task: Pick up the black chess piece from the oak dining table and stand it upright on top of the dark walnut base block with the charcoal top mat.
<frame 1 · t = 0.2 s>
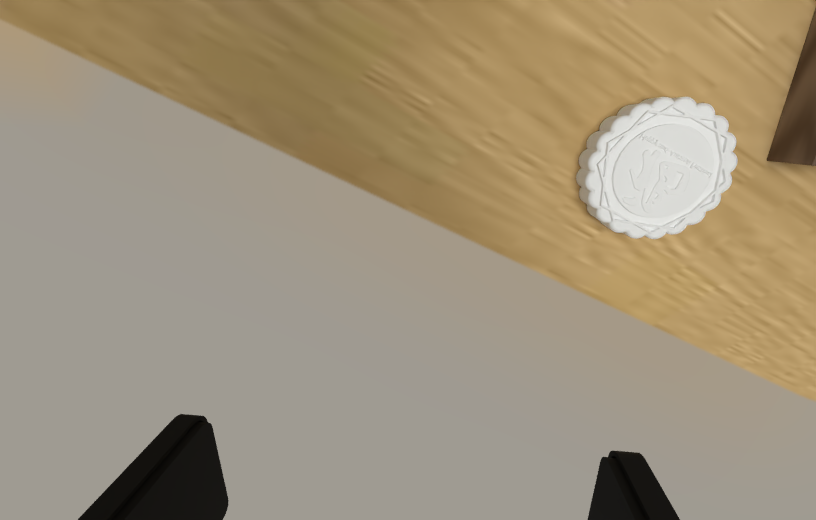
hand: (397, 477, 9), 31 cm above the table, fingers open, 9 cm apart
mooncake: (642, 168, 35), on the table
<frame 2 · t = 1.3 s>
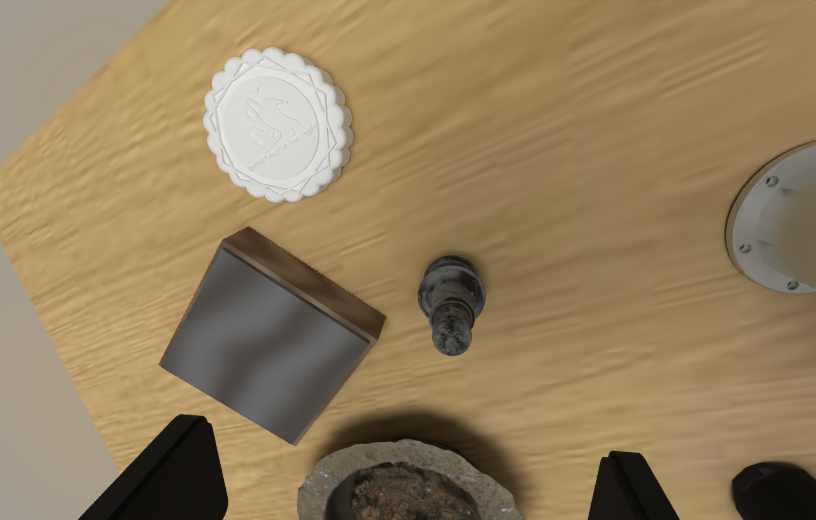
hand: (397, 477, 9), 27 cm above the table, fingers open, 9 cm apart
walnut base: (282, 329, 40), on the table
portable speaker: (767, 486, 41), on the table
mooncake: (289, 129, 34), on the table
stone bowl: (413, 482, 46), on the table
black chess piece: (451, 280, 37), on the table
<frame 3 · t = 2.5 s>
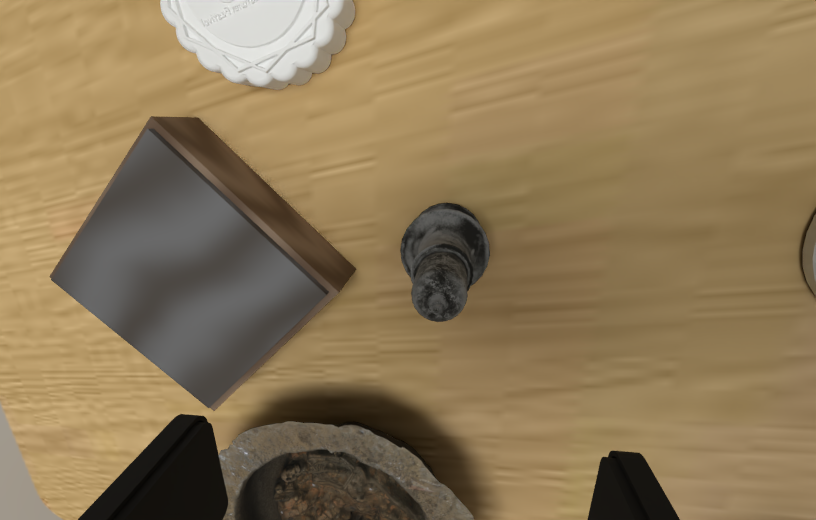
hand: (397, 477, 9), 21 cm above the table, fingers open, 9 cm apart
walnut base: (223, 262, 32), on the table
stone bowl: (353, 476, 38), on the table
black chess piece: (446, 237, 29), on the table
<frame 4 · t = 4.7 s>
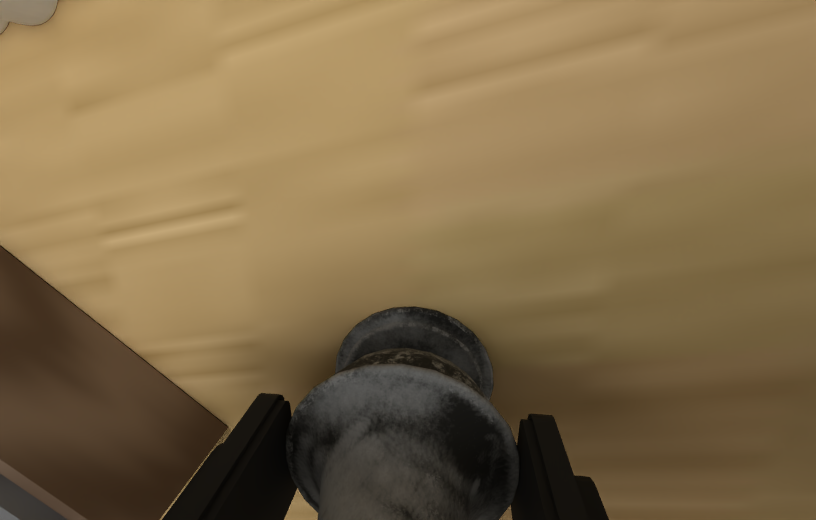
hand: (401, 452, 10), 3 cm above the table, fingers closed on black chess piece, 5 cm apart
black chess piece: (413, 373, 13), on the table, touching gripper
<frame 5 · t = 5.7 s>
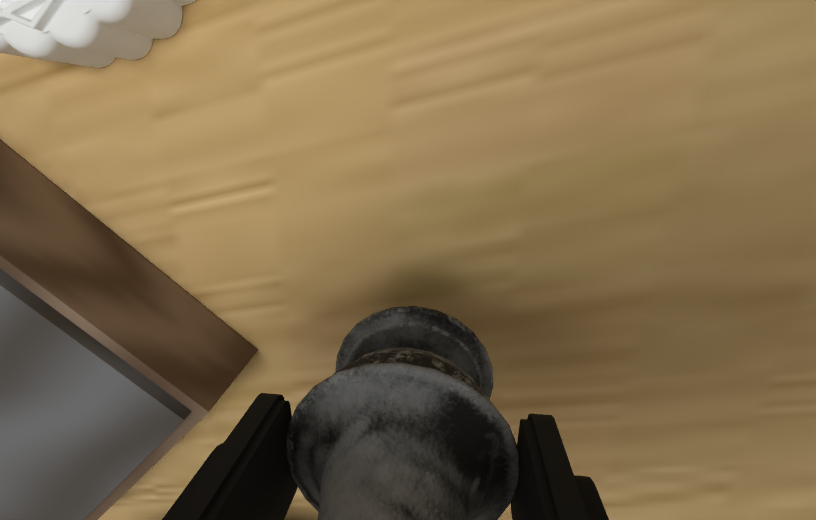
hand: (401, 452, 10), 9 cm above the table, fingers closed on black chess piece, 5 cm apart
walnut base: (51, 342, 20), on the table
black chess piece: (413, 373, 13), point 5 cm above the table, touching gripper
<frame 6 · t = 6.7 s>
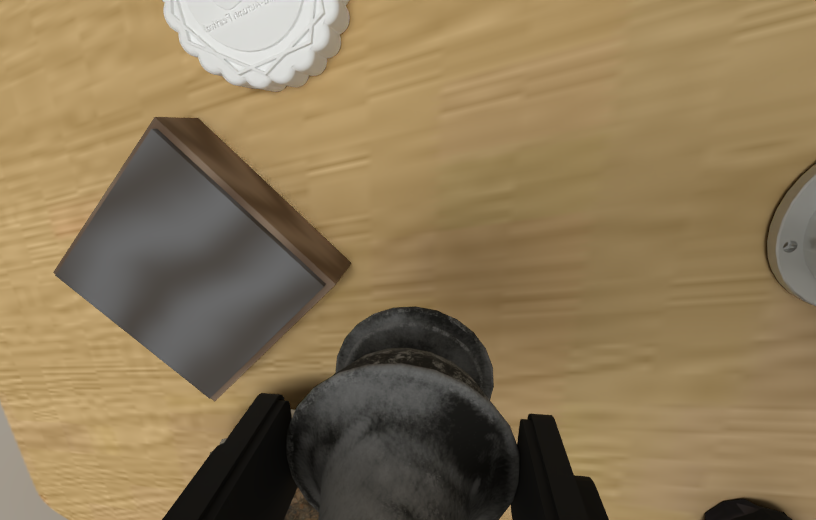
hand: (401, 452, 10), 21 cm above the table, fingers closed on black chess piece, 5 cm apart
walnut base: (222, 258, 33), on the table
stone bowl: (350, 465, 40), on the table
black chess piece: (413, 373, 13), point 18 cm above the table, touching gripper
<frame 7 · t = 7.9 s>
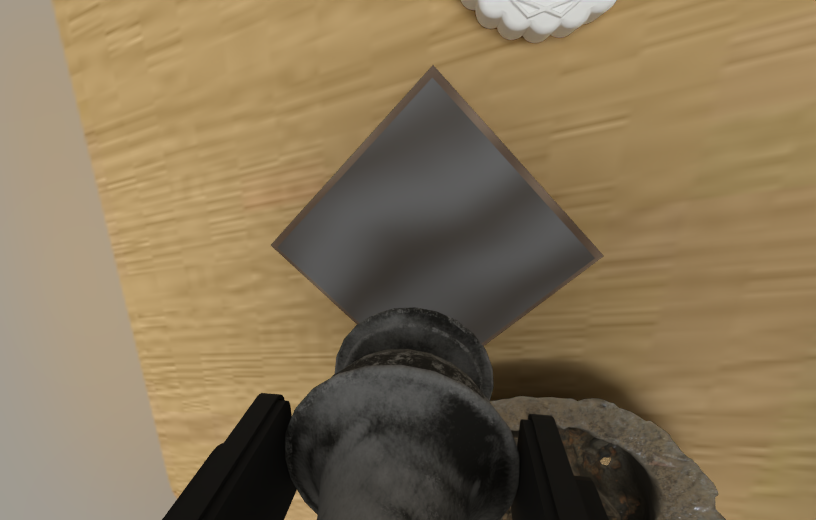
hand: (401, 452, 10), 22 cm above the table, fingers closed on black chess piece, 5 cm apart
walnut base: (432, 232, 30), on the table
stone bowl: (530, 459, 37), on the table
black chess piece: (413, 374, 13), point 18 cm above the table, touching gripper
when the fingers open (10 cm above the table, at t = 10.5 s): black chess piece drops 2 cm, resting on walnut base.
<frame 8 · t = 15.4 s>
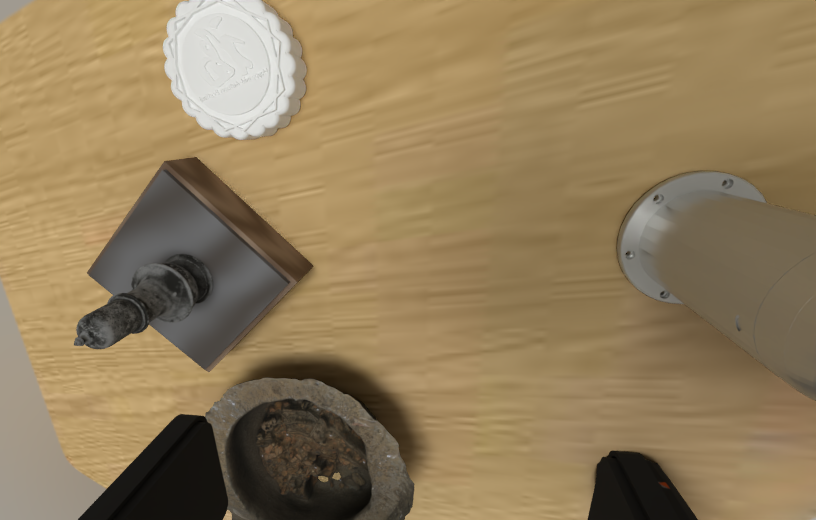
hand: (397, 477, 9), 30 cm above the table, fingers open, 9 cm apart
walnut base: (215, 262, 42), on the table
portable speaker: (625, 473, 46), on the table
mooncake: (247, 71, 36), on the table
stone bowl: (319, 428, 49), on the table
black chess piece: (189, 278, 38), point 5 cm above the table, touching walnut base
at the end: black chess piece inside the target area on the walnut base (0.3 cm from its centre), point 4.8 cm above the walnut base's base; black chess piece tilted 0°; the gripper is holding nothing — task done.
